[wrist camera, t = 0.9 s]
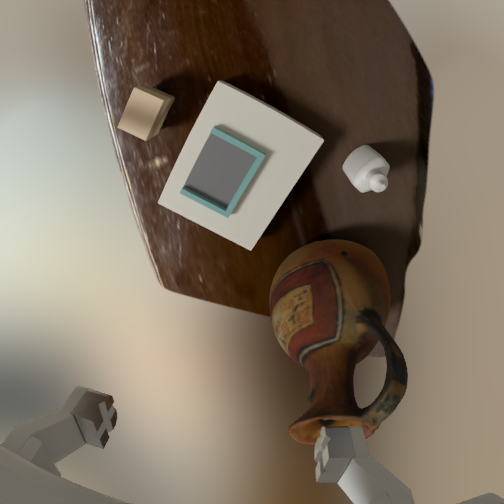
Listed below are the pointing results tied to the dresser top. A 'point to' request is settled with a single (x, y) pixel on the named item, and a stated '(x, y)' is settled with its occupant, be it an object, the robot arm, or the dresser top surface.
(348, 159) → the eye dropper bottle
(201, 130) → the dock
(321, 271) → the ceramic pitcher
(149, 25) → the dresser top surface
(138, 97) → the beige wheeled cart
